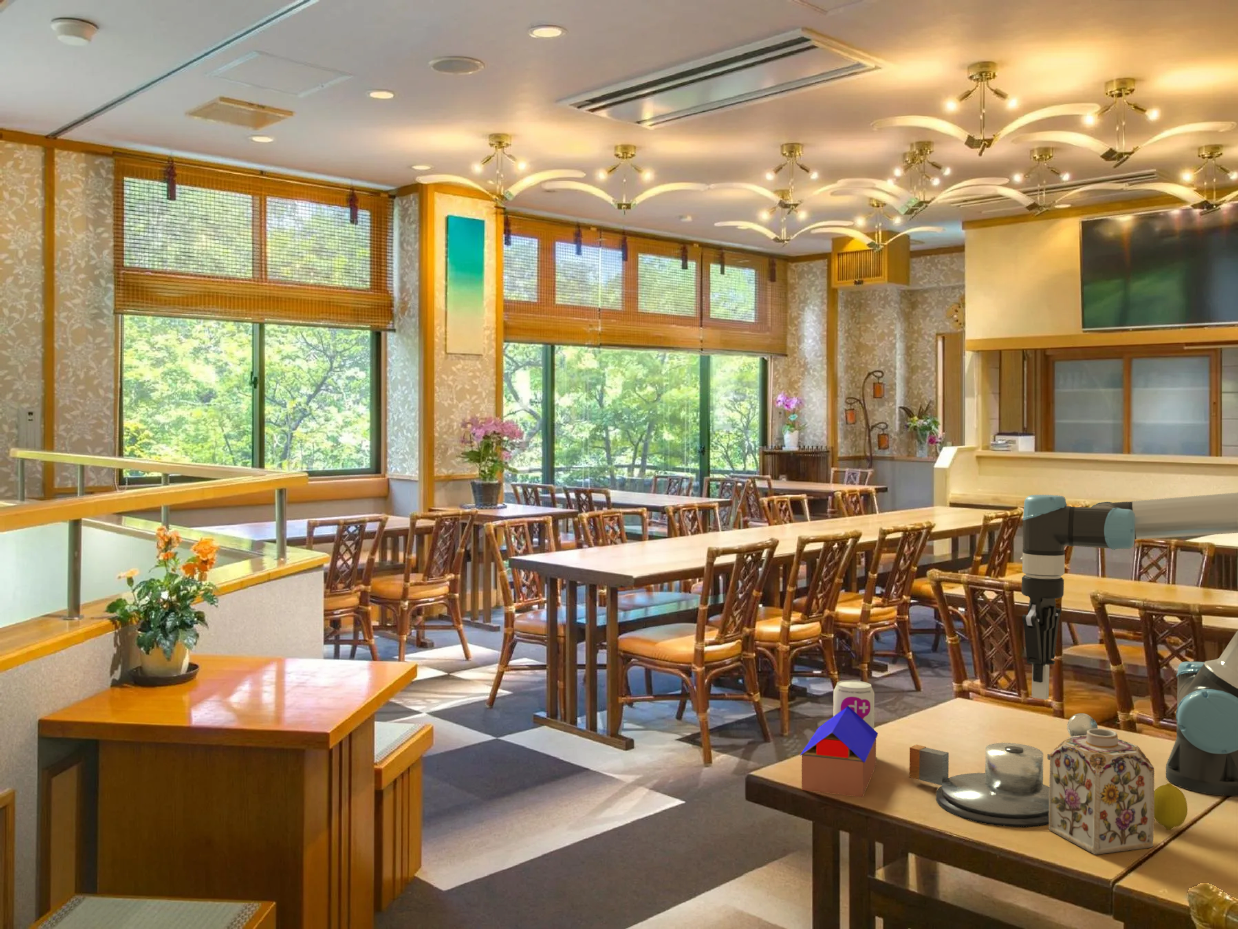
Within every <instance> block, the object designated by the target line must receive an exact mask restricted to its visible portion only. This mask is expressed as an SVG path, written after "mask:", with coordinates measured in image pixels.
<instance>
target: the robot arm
mask: <svg viewBox="0 0 1238 929" xmlns="http://www.w3.org/2000/svg"><path fill="white" fill-rule="evenodd" d="M1023 503H1024V504H1023V515H1022V516H1023V517H1022V555H1021V557H1020V561H1021V562H1022V568H1021V570H1022V573H1023V574H1024V575H1023V576H1022V577H1021V594H1022V595H1023V596H1025V597H1028V598H1029V602H1028V607H1027V614H1023V615H1022V617H1021V620H1022V624H1023V629H1024V639H1025V653H1026V663H1027V664H1030V665H1031V698H1034V699H1039V700H1043V701H1045V700H1049V699H1050V696H1049V694H1050V693H1049V692H1050V665H1055V663H1056V660H1055V658H1056V649H1057V640H1058V631H1059V624H1060V623H1059V622H1060V619H1061V615H1062V609H1061V608H1057V606H1056V604H1057V603H1056V599H1061V598H1063V596H1064V592H1065V591H1064V590H1065V579H1064V578H1063V577H1062V576H1064V575H1065V569H1066V568H1065V566H1066V565H1065V561H1066V560H1065V559H1066V558H1065V552H1066V551H1065V547H1082V548H1083V547H1084V548H1098V549H1109V550H1110V549H1111V550H1113V551H1115V550H1129V549H1132V548H1133V547H1134V546H1135V540H1144V539H1146V540H1148V539H1159V538H1160V539H1161V538H1162V539H1164V538H1175V537H1176V538H1180V537H1192V536H1210V535H1229V534H1238V492H1228V493H1227V492H1226V493H1218V494H1217V493H1216V494H1204V495H1191V496H1179V497H1178V496H1177V497H1167V498H1165V497H1164V498H1155V499H1153V498H1152V499H1140V500H1132V501H1118V502H1117V501H1116V502H1115V501H1114V502H1112V501H1102V502H1097V503H1096V504H1094V505H1092V506H1091V507H1088V506H1087V507H1086V506H1084V507H1081V506H1080V507H1079V506H1077V507H1076V506H1071V505H1068V503H1067V499H1066V498H1065V497H1064V496H1063V495H1058V494H1057V495H1056V494H1054V495H1053V494H1031V495H1028V496H1027V497H1026V498H1025V499H1024V501H1023ZM1176 678H1177V684H1176V685H1177V687H1176V688H1177V693H1176V696H1177V697H1176V698H1177V699H1176V700H1177V701H1176V712H1175V720H1176V738H1175V741H1174V744H1173V746H1172V749H1171V752H1170V755H1169V757H1168V759H1167V762H1166V764H1165V778H1166V779H1165V780H1167V782H1169V783H1171V784H1172V785H1174V786H1176V787H1180V788H1183V789H1185V790H1190V791H1193V792H1196V793H1197V792H1198V793H1201V794H1202V793H1203V794H1207V795H1216V796H1224V797H1225V796H1229V797H1230V796H1231V797H1232V796H1233V797H1234V796H1235V797H1237V796H1238V630H1237V631H1236V632H1235V633H1234V635H1233V637H1232V638H1231V640H1230V641H1229V643H1228V644H1227V646H1226V647H1225V649H1223V651H1222V653H1221V655H1220V656H1219V658H1216V659H1211V660H1205V661H1182V662H1180V663H1179V664H1178V667H1177V674H1176Z"/></svg>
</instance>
